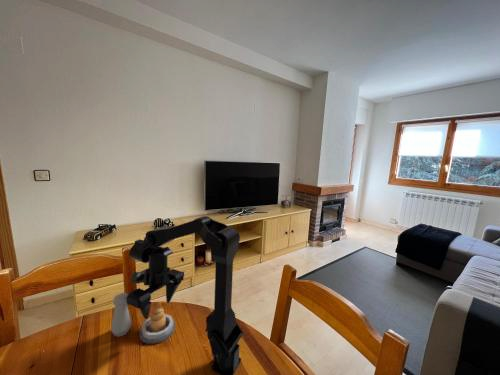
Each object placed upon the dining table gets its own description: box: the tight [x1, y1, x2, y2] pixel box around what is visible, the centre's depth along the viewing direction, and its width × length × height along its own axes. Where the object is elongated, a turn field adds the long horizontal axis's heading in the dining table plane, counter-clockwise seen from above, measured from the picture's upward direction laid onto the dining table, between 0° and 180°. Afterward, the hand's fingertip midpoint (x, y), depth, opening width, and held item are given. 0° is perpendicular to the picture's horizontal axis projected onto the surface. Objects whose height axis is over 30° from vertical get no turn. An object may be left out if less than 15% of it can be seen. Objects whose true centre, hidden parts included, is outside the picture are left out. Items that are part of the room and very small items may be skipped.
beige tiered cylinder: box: [149, 306, 166, 333], centre depth 72 cm, size 5×5×7 cm
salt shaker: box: [110, 292, 132, 338], centre depth 70 cm, size 6×6×13 cm
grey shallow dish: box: [139, 313, 176, 345], centre depth 72 cm, size 11×11×2 cm
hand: (157, 309), depth 72 cm, fingers open, 9 cm apart
